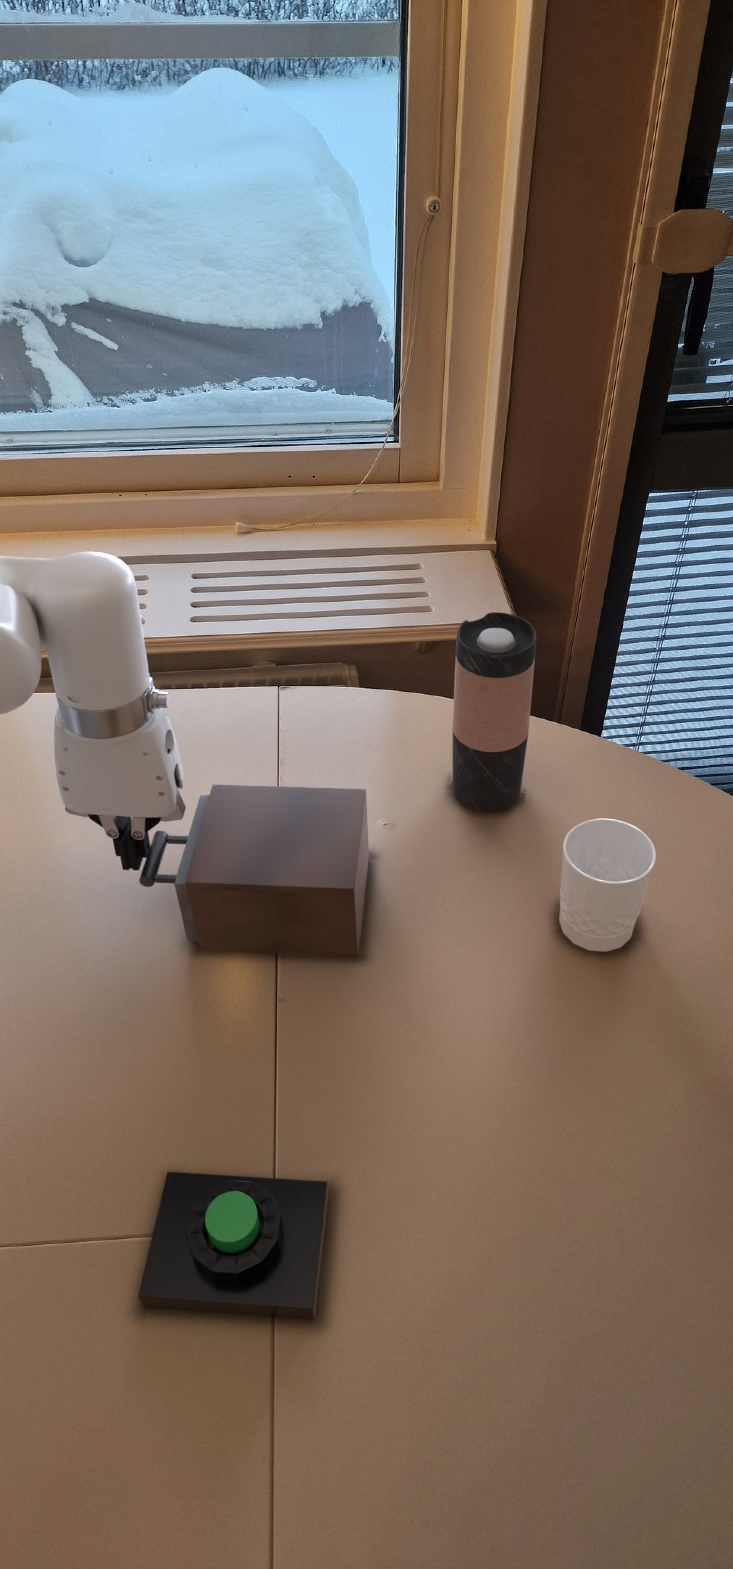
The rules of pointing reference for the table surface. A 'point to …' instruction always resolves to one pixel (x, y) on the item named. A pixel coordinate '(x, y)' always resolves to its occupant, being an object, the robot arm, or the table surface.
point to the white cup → (603, 882)
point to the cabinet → (280, 871)
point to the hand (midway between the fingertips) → (135, 859)
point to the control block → (244, 1282)
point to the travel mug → (491, 709)
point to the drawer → (155, 858)
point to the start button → (232, 1222)
